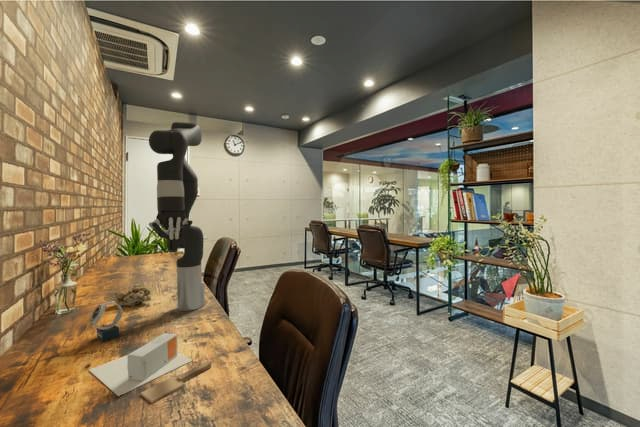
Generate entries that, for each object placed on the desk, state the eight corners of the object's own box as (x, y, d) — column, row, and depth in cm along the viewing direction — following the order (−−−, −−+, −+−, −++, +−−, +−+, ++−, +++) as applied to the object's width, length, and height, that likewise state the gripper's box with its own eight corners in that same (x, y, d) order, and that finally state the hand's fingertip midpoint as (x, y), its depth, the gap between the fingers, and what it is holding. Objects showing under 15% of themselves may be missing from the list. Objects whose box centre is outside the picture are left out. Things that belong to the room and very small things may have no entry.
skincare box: (178, 355, 78) (142, 382, 66) (164, 353, 79) (127, 380, 67) (177, 333, 78) (141, 356, 66) (164, 332, 79) (126, 354, 67)
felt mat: (158, 343, 86) (158, 342, 86) (192, 360, 76) (192, 360, 76) (88, 370, 72) (88, 369, 72) (118, 396, 62) (118, 395, 62)
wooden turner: (203, 362, 74) (203, 359, 74) (215, 368, 71) (215, 364, 71) (141, 395, 62) (140, 391, 62) (152, 404, 59) (151, 399, 59)
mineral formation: (143, 297, 132) (161, 300, 124) (111, 311, 121) (127, 315, 113) (139, 280, 131) (156, 282, 123) (106, 293, 120) (122, 296, 112)
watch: (89, 340, 89) (87, 305, 89) (119, 331, 95) (118, 298, 95) (94, 345, 86) (93, 308, 85) (125, 335, 92) (124, 301, 92)
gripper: (184, 196, 97) (186, 248, 97) (142, 195, 86) (144, 253, 86) (197, 195, 92) (199, 249, 93) (154, 194, 81) (156, 255, 82)
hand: (172, 251), depth 89 cm, fingers closed
